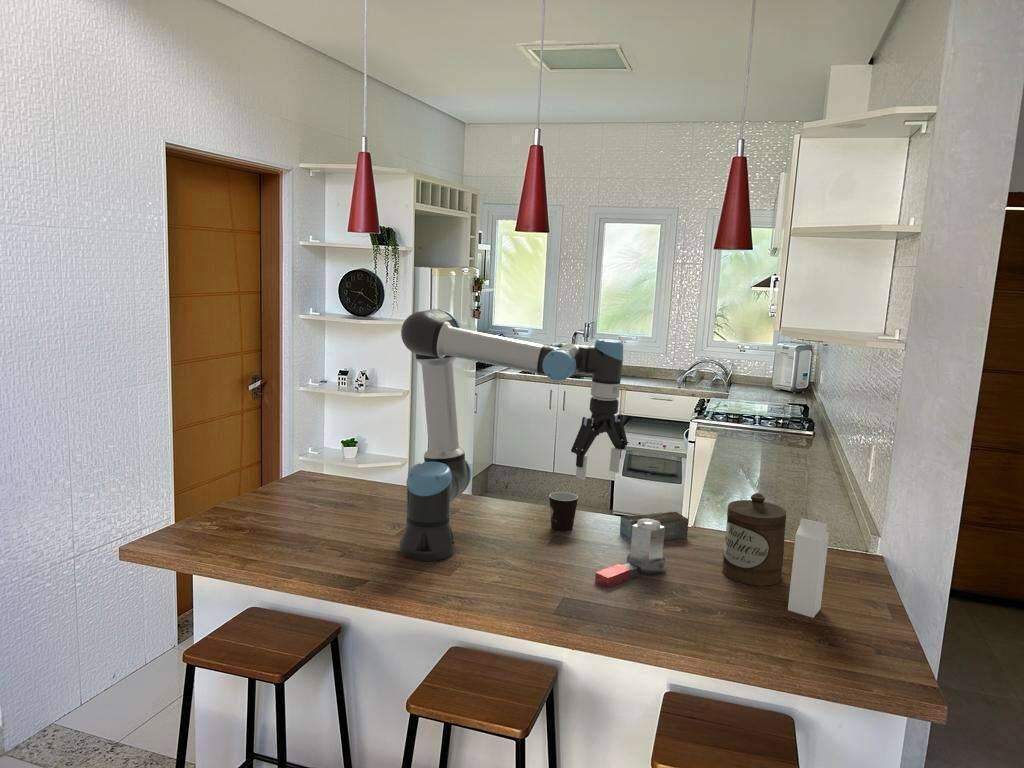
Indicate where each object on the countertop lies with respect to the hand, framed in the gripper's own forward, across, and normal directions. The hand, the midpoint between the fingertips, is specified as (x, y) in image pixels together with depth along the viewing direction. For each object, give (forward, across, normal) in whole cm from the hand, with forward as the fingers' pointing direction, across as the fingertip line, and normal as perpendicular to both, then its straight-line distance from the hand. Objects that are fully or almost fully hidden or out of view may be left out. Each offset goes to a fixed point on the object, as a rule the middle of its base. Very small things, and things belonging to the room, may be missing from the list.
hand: (597, 475), depth 205 cm
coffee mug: (+23, +10, +20) cm, 32 cm away
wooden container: (+22, +24, -35) cm, 48 cm away
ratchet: (+22, -1, -15) cm, 27 cm away
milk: (+21, +16, -54) cm, 60 cm away
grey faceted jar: (+20, +5, -15) cm, 25 cm away
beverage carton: (+23, +26, -2) cm, 35 cm away
